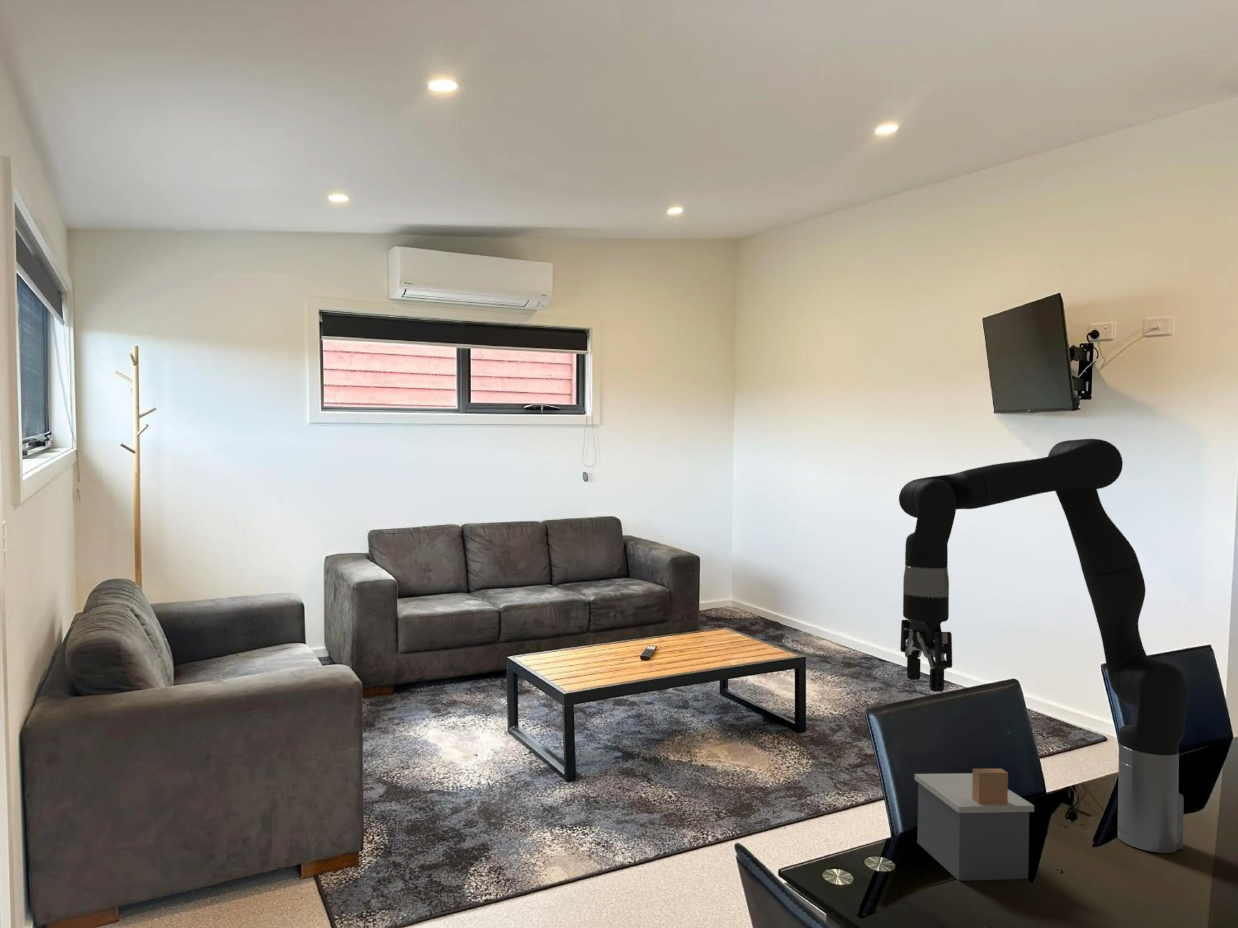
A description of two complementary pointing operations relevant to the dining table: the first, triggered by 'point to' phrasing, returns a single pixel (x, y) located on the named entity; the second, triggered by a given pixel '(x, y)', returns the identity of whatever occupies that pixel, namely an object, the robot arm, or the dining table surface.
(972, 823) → the tub
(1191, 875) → the dining table surface
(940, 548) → the robot arm
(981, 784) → the lid
